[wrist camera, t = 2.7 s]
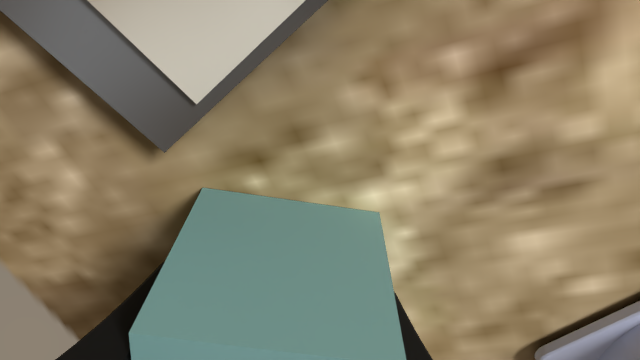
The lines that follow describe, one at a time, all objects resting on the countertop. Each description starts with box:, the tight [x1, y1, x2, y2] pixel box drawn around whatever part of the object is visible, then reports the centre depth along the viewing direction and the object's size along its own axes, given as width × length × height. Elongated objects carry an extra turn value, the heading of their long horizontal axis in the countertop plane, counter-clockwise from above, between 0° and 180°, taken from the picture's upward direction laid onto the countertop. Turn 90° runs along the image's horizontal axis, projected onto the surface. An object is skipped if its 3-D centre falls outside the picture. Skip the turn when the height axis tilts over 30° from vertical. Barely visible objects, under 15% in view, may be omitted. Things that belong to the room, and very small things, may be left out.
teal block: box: [129, 188, 406, 360], centre depth 11 cm, size 5×5×5 cm
